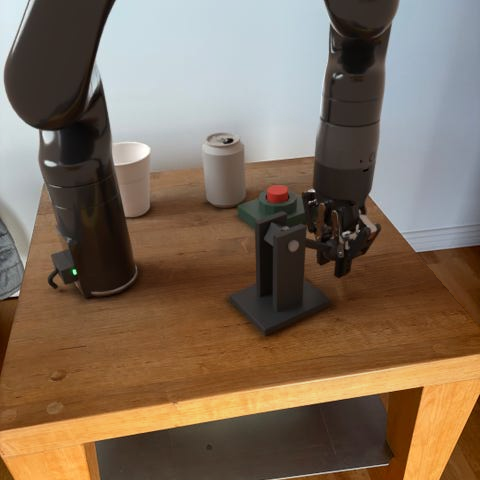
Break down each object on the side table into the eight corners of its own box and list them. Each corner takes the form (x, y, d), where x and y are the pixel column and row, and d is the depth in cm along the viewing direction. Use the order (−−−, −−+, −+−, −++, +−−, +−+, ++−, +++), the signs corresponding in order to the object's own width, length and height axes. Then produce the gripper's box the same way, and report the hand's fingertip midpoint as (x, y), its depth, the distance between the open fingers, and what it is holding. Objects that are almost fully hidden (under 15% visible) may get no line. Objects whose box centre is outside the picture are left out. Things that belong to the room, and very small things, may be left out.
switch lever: (328, 256, 73) (338, 236, 72) (343, 266, 71) (354, 246, 70) (260, 240, 64) (270, 217, 63) (274, 251, 62) (285, 228, 61)
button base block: (266, 237, 84) (266, 216, 81) (237, 216, 90) (236, 195, 87) (317, 218, 88) (319, 197, 85) (287, 199, 94) (287, 179, 91)
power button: (275, 206, 85) (275, 196, 84) (263, 198, 87) (263, 188, 86) (292, 200, 86) (292, 190, 85) (279, 192, 88) (280, 183, 87)
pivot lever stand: (291, 275, 76) (294, 197, 67) (330, 306, 70) (338, 225, 61) (229, 301, 71) (223, 222, 63) (264, 336, 65) (264, 254, 57)
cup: (161, 220, 90) (151, 161, 83) (105, 226, 89) (90, 167, 82) (159, 195, 97) (150, 139, 90) (107, 200, 96) (94, 144, 89)
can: (241, 211, 91) (239, 146, 83) (202, 208, 92) (195, 144, 85) (249, 192, 97) (247, 130, 89) (211, 190, 98) (206, 128, 90)
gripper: (286, 143, 65) (282, 255, 76) (362, 182, 56) (345, 303, 67) (331, 130, 68) (321, 240, 79) (410, 165, 58) (386, 284, 70)
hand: (332, 268), depth 73 cm, fingers closed on switch lever, 3 cm apart
